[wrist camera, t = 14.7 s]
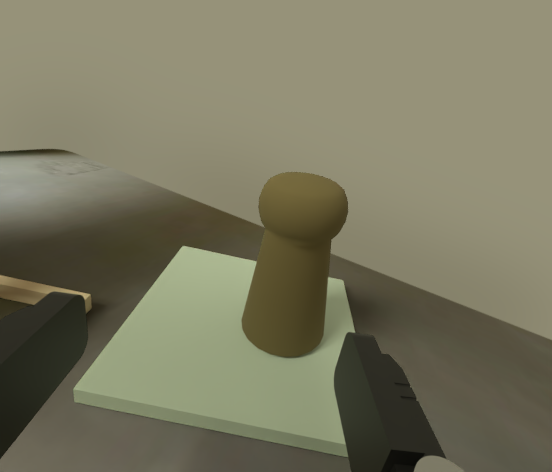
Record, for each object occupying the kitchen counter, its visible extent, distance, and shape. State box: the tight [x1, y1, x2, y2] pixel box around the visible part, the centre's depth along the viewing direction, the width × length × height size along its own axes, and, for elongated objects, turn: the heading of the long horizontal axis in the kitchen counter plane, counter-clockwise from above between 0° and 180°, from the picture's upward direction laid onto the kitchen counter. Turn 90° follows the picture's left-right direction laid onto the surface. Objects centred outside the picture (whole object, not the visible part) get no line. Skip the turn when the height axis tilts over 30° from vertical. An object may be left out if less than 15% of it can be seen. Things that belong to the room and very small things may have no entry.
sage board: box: [73, 246, 355, 457], centre depth 23 cm, size 16×16×1 cm
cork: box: [241, 172, 348, 357], centre depth 20 cm, size 6×6×11 cm
